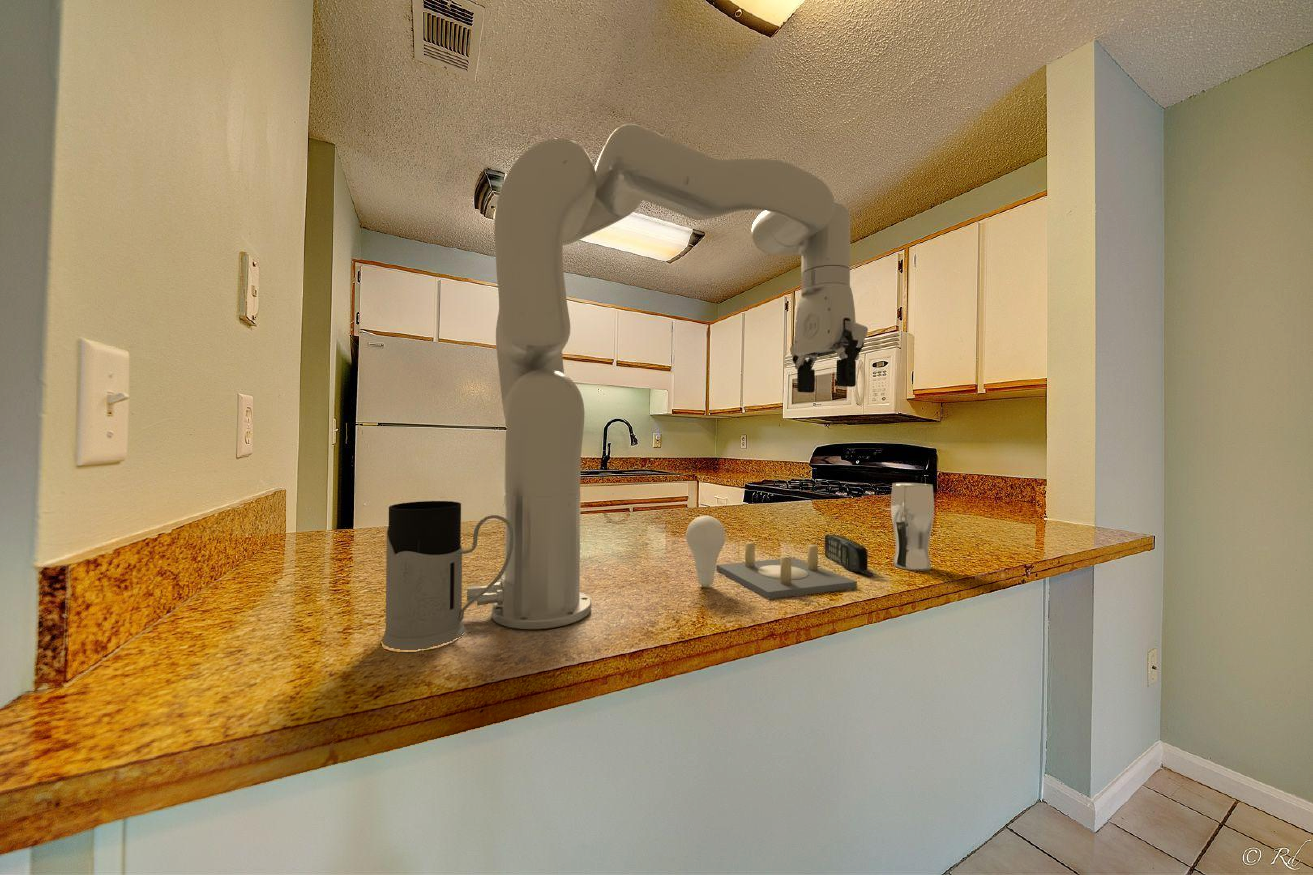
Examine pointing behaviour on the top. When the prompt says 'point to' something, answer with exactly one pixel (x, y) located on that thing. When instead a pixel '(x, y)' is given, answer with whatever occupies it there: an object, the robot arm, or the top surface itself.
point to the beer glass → (912, 524)
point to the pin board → (785, 590)
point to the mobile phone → (847, 553)
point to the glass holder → (427, 574)
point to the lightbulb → (705, 546)
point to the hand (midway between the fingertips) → (824, 389)
